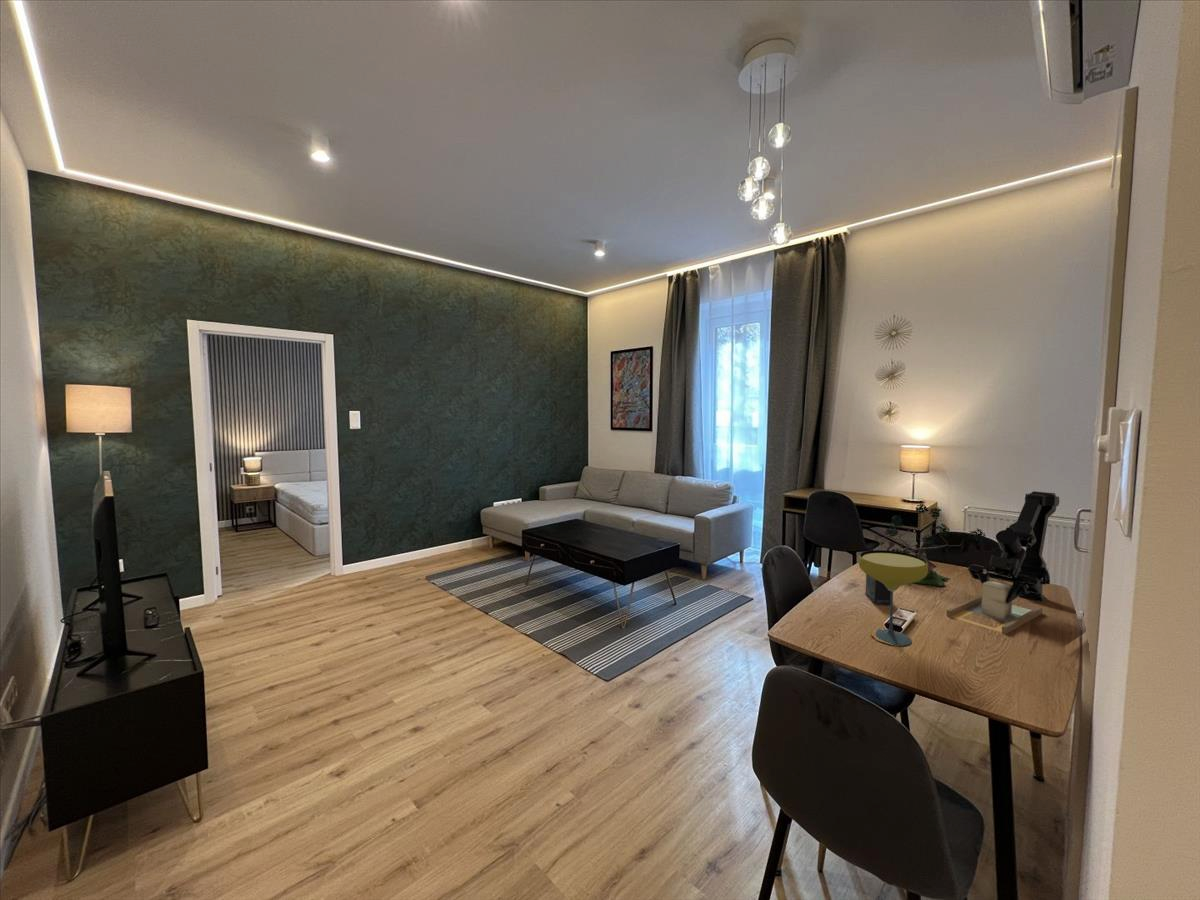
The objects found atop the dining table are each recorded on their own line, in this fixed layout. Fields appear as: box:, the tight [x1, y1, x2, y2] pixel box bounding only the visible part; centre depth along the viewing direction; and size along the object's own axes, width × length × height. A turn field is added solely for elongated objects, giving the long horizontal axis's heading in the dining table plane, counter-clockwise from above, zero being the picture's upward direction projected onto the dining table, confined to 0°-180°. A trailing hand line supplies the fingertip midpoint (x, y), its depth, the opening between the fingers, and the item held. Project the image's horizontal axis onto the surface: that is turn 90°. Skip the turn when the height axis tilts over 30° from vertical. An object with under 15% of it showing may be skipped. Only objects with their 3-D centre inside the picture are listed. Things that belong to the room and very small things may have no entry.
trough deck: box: [946, 593, 1043, 635], centre depth 161 cm, size 27×16×4 cm, turn 121°
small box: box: [864, 573, 891, 606], centre depth 180 cm, size 11×6×10 cm, turn 168°
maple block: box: [981, 579, 1013, 619], centre depth 162 cm, size 6×6×10 cm
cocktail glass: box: [858, 549, 928, 647], centre depth 149 cm, size 18×18×25 cm
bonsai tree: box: [881, 503, 987, 588], centre depth 194 cm, size 35×24×32 cm
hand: (994, 599), depth 161 cm, fingers closed on maple block, 6 cm apart
